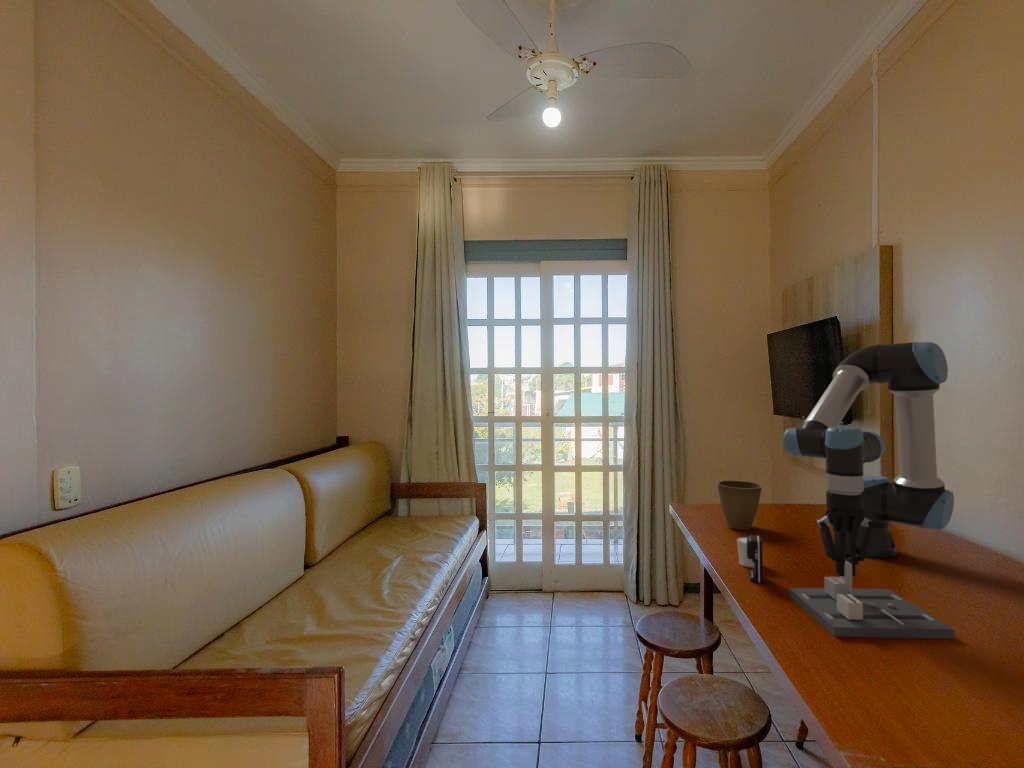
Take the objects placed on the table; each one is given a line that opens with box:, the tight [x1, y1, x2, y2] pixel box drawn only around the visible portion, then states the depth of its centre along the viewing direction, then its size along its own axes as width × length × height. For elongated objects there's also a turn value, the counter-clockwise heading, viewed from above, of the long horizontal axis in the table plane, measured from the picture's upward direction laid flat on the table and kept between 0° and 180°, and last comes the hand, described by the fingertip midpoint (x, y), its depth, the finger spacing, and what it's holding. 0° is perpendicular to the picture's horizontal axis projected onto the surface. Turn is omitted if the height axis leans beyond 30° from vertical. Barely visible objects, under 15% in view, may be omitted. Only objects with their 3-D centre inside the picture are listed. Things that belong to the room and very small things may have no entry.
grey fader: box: [823, 575, 848, 599], centre depth 120 cm, size 3×4×4 cm
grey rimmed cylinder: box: [736, 536, 755, 568], centre depth 148 cm, size 7×7×7 cm
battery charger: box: [746, 534, 764, 584], centre depth 137 cm, size 7×4×11 cm, turn 156°
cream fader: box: [837, 593, 863, 620], centre depth 111 cm, size 3×4×4 cm
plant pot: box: [717, 480, 763, 531], centre depth 184 cm, size 15×15×16 cm
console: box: [788, 587, 955, 640], centre depth 115 cm, size 24×20×3 cm
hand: (845, 589), depth 120 cm, fingers closed
